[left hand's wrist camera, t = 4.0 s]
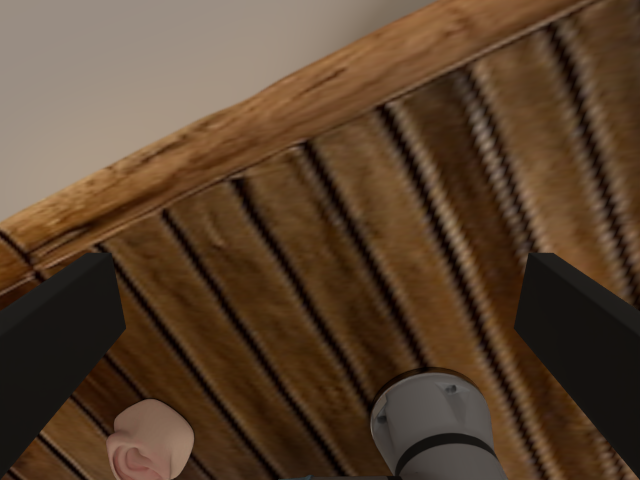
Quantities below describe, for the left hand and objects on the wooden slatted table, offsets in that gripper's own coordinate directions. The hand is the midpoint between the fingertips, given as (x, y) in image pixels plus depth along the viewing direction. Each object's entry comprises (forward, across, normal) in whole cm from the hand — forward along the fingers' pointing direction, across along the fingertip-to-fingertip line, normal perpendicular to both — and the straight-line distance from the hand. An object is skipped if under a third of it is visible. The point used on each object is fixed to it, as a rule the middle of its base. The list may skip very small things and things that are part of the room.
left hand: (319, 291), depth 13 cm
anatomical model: (+30, -23, -38) cm, 53 cm away
